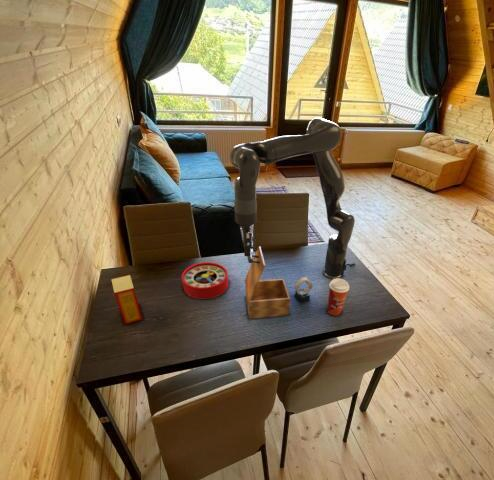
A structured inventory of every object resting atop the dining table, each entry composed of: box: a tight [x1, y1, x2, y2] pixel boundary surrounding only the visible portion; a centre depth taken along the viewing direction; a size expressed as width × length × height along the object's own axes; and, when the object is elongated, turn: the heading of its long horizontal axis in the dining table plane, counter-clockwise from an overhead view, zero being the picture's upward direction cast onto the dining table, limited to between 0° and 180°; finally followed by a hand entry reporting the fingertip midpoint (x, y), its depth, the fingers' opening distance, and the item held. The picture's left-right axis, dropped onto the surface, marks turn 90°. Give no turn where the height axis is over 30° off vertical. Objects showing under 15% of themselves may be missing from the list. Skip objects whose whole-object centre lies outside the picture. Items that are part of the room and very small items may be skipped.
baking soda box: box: [110, 274, 144, 325], centre depth 122 cm, size 10×6×16 cm
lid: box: [244, 245, 266, 302], centre depth 123 cm, size 18×14×5 cm
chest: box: [245, 278, 291, 320], centre depth 133 cm, size 17×14×9 cm
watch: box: [294, 276, 314, 304], centre depth 138 cm, size 6×8×11 cm
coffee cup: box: [327, 277, 350, 317], centre depth 132 cm, size 8×8×15 cm
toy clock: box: [181, 261, 229, 300], centre depth 143 cm, size 20×6×20 cm
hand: (246, 249), depth 117 cm, fingers open, 8 cm apart
